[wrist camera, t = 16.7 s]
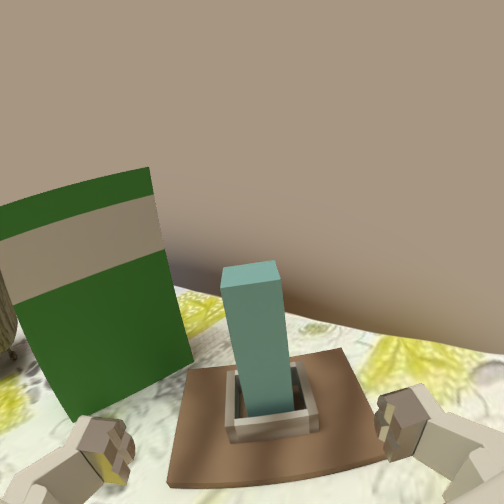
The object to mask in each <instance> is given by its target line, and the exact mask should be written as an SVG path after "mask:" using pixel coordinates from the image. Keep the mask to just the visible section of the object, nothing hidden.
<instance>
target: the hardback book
mask: <svg viewBox="0 0 504 504" xmlns="http://www.w3.org/2000/svg"><path fill="white" fill-rule="evenodd" d="M0 270H1V273H2V276H3V279H4V282H5V285H6V288H7V291H8V294H9V297H10V299H11V302H12V305H13V307H14V310H15V313H16V315H17V318H18V320H19V322H20V325H21V327H22V330H23V332H24V334H25V336H26V339H27V341H28V343H29V345H30V347H31V349H32V352H33V354H34V356H35V358H36V360H37V362H38V364H39V366H40V368H41V370H42V371H43V373H44V375H45V377H46V379H47V381H48V383H49V384H50V386H51V388H52V390H53V391H54V393H55V395H56V397H57V398H58V400H59V402H60V403H61V405H62V407H63V408H64V410H65V411H66V413H67V415H68V416H69V418H70V419H71V421H72V422H73V423H74V422H76V421H77V420H78V418H79V417H80V416H82V415H85V416H89V415H91V414H93V413H95V412H97V411H99V410H101V409H104V408H106V407H108V406H110V405H112V404H114V403H116V402H118V401H120V400H122V399H124V398H126V397H128V396H130V395H132V394H134V393H136V392H138V391H140V390H142V389H144V388H146V387H148V386H150V385H152V384H154V383H155V382H157V381H159V380H161V379H163V378H165V377H167V376H169V375H171V374H172V373H174V372H176V371H178V370H180V369H182V368H183V367H185V366H187V365H189V364H191V363H193V362H194V359H193V356H192V352H191V349H190V346H189V342H188V339H187V335H186V332H185V328H184V324H183V321H182V317H181V313H180V309H179V306H178V302H177V298H176V294H175V290H174V286H173V282H172V278H171V274H170V269H169V265H168V261H167V256H166V252H165V248H164V243H163V238H162V234H161V229H160V224H159V219H158V214H157V209H156V203H155V198H154V193H153V187H152V182H151V176H150V170H149V167H145V168H140V169H136V170H131V171H126V172H121V173H117V174H112V175H108V176H104V177H100V178H96V179H91V180H87V181H83V182H80V183H76V184H72V185H68V186H65V187H61V188H58V189H54V190H50V191H47V192H44V193H40V194H37V195H34V196H30V197H27V198H24V199H21V200H18V201H15V202H12V203H9V204H6V205H3V206H0Z"/></svg>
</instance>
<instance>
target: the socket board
mask: <svg viewBox="0 0 504 504" xmlns="http://www.w3.org/2000/svg"><path fill="white" fill-rule="evenodd" d="M289 360H290V370H291V380H292V390H293V401H294V411H292V412H286V413H280V414H273V415H265V416H257V417H249V418H248V414H247V410H246V406H245V401H244V397H243V393H242V388H241V384H240V379H239V375H238V371H237V366H236V365H229V366H220V367H210V368H200V369H188V374H187V379H186V383H185V388H184V393H183V398H182V402H181V407H180V412H179V417H178V422H177V427H176V433H175V438H174V443H173V448H172V454H171V459H170V464H169V470H168V476H167V481H166V483H167V484H168V485H169V487H170V488H193V489H204V488H234V487H248V486H259V485H268V484H277V483H284V482H291V481H297V480H303V479H309V478H314V477H319V476H324V475H329V474H333V473H338V472H342V471H346V470H350V469H354V468H358V467H361V466H365V465H368V464H372V463H375V462H378V461H382V460H385V459H387V456H386V454H385V452H384V450H383V446H384V443H385V442H383V441H382V440H380V439H378V437H377V434H376V431H375V428H374V417H375V416H374V414H373V411H372V409H371V407H370V405H369V403H368V401H367V399H366V397H365V395H364V393H363V391H362V389H361V387H360V385H359V382H358V380H357V378H356V376H355V374H354V372H353V370H352V368H351V366H350V364H349V362H348V360H347V358H346V356H345V354H344V352H343V350H342V348H337V349H332V350H327V351H322V352H316V353H311V354H305V355H300V356H294V357H289Z"/></svg>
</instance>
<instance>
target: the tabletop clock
mask: <svg viewBox="0 0 504 504" xmlns="http://www.w3.org/2000/svg"><path fill="white" fill-rule="evenodd" d="M17 325H18V321H17V316H16V313H15V310H14V307H13V305H12V302H11V299H10V297H9V294H8V291H7V288H6V285H5V282H4V279H3V276H2V273H1V270H0V354H1V353H3V352H6V351H8V352H9V357H10V359H11V360H16V359H17V354H16V352H14V351H11V350H10V349H9V347H10V346H11V345H12V343H13V342H14V339H15V336H16V332H17Z"/></svg>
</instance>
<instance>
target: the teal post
mask: <svg viewBox="0 0 504 504" xmlns="http://www.w3.org/2000/svg"><path fill="white" fill-rule="evenodd" d="M220 289H221V294H222V299H223V304H224V309H225V314H226V319H227V324H228V329H229V334H230V338H231V343H232V348H233V352H234V357H235V361H236V366H237V371H238V375H239V379H240V384H241V388H242V393H243V397H244V401H245V406H246V410H247V414H248V418H249V417H257V416H265V415H273V414H280V413H286V412H292V411H294V401H293V390H292V380H291V370H290V360H289V350H288V340H287V331H286V322H285V313H284V304H283V295H282V287H281V279H280V276H279V273H278V269H277V267H276V263H275V260H272V261H266V262H258V263H252V264H245V265H238V266H231V267H224V268H223V274H222V280H221V287H220Z"/></svg>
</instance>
